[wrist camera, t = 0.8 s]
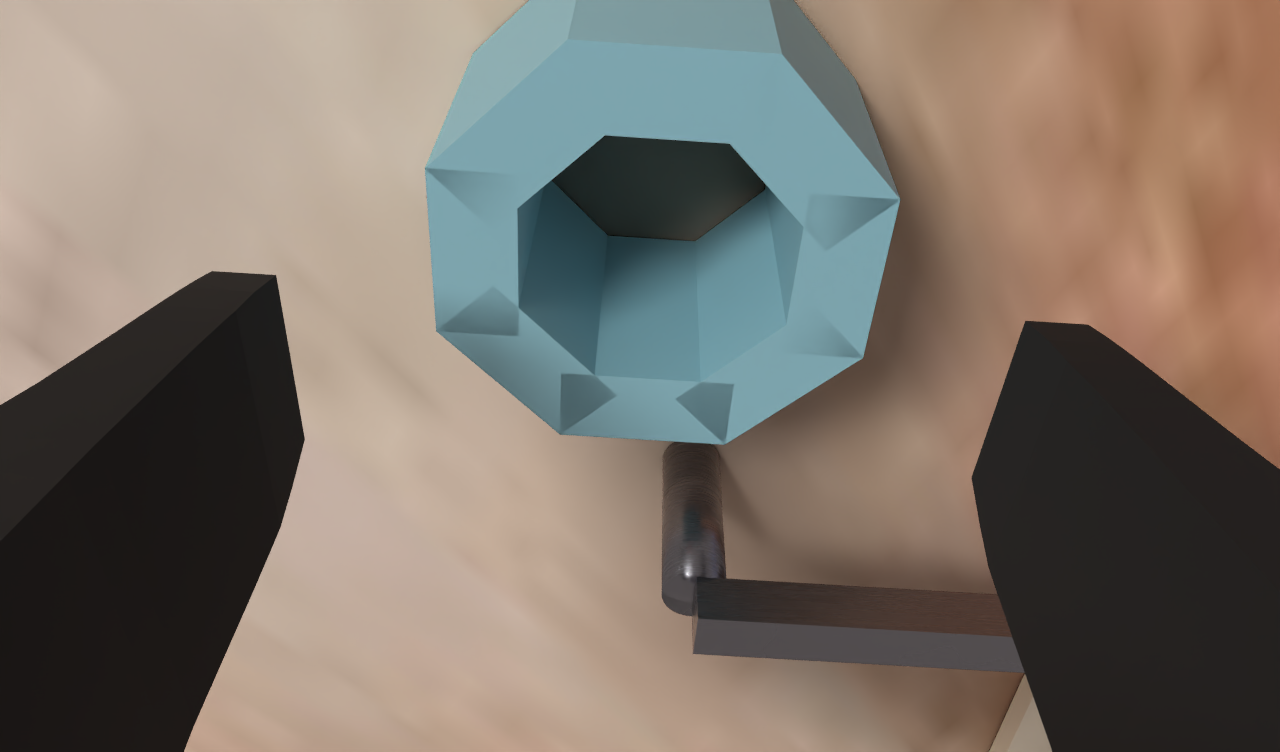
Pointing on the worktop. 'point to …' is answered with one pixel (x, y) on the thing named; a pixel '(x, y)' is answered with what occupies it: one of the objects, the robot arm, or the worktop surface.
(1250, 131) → the worktop surface
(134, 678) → the robot arm
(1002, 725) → the peg stand
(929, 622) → the handle
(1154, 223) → the worktop surface
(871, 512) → the worktop surface
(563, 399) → the ring
